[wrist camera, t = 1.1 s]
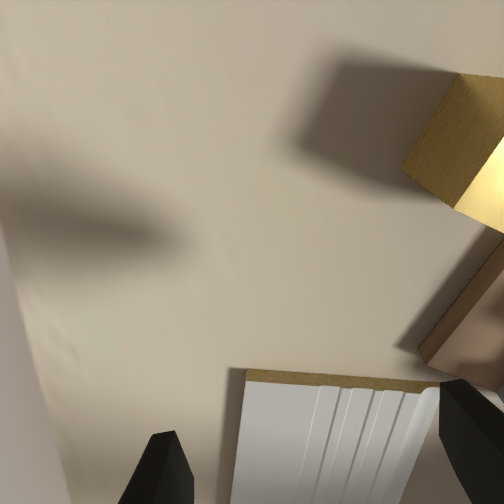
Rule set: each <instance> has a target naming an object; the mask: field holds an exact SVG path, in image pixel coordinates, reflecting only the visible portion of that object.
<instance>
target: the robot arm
mask: <svg viewBox="0 0 504 504" xmlns="http://www.w3.org/2000/svg"><path fill="white" fill-rule="evenodd" d="M439 436H440V439H441V441H442V444H443V446H444V448H445V451H446V453H447V455H448V458H449V460H450V462H451V464H452V467H453V469H454V471H455V473H456V475H457V477H458V479H459V481H460V483H461V484H462V486H463V488H464V490H465V492H466V493H467V495H468V497H469V499H470V501H471V502H472V504H504V413H503V412H502V411H501V410H500V409H499V408H497V407H496V406H495V405H494V404H493V403H492V402H490V401H489V400H488V399H487V398H486V397H485V396H483V395H482V394H481V393H480V392H479V391H478V390H476V389H475V388H474V387H473V386H472V385H471V384H470V383H468V382H467V381H466V380H464V379H458V380H452V381H447V382H441V383H440V401H439ZM118 504H194V477H193V474H192V472H191V469H190V467H189V464H188V462H187V459H186V457H185V454H184V452H183V449H182V447H181V444H180V442H179V439H178V437H177V434H176V432H175V430H174V431H168V432H163V433H157V434H153V435H152V436H151V438H150V440H149V442H148V444H147V446H146V448H145V450H144V453H143V455H142V457H141V459H140V461H139V463H138V465H137V467H136V469H135V471H134V473H133V475H132V477H131V479H130V481H129V483H128V485H127V487H126V489H125V491H124V493H123V495H122V497H121V499H120V500H119V502H118Z"/></svg>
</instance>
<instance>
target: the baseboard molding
mask: <svg viewBox="0 0 504 504" xmlns="http://www.w3.org/2000/svg"><path fill="white" fill-rule="evenodd" d="M439 401H440V383H436V382H422V381H408V380H395V379H381V378H367V377H354V376H340V375H327V374H313V373H299V372H286V371H272V370H258V369H248V371H247V373H246V379H245V387H244V395H243V403H242V411H241V419H240V426H239V434H238V442H237V450H236V458H235V466H234V474H233V481H232V489H231V497H230V504H399V503H400V500H401V498H402V495H403V492H404V490H405V487H406V485H407V482H408V480H409V477H410V475H411V472H412V470H413V467H414V465H415V462H416V460H417V457H418V454H419V452H420V449H421V447H422V444H423V442H424V439H425V437H426V434H427V432H428V429H429V427H430V424H431V421H432V419H433V416H434V414H435V411H436V409H437V406H438V404H439Z"/></svg>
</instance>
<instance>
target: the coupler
mask: <svg viewBox="0 0 504 504" xmlns="http://www.w3.org/2000/svg"><path fill="white" fill-rule="evenodd" d="M401 169H402V170H403V171H404V172H406V173H407V174H408V175H410V176H411V177H412V178H414V179H415V180H416V181H417V182H419V183H420V184H421V185H423V186H424V187H425V188H427V189H428V190H429V191H431V192H432V193H433V194H434V195H436V196H437V197H438V198H440V199H441V200H442V201H444V202H445V203H446V204H448V205H449V206H450V207H451V208H453V209H455V210H457V211H459V212H461V213H463V214H465V215H467V216H469V217H471V218H473V219H475V220H477V221H479V222H481V223H483V224H486V225H488V226H490V227H492V228H494V229H496V230H498V231H500V232H502V233H504V78H500V77H490V76H481V75H472V74H462V73H459V74H458V76H457V77H456V79H455V81H454V82H453V84H452V86H451V87H450V89H449V90H448V92H447V94H446V95H445V97H444V98H443V100H442V102H441V103H440V105H439V106H438V108H437V110H436V111H435V113H434V115H433V116H432V118H431V119H430V121H429V123H428V124H427V126H426V127H425V129H424V131H423V132H422V134H421V135H420V137H419V139H418V140H417V142H416V144H415V145H414V147H413V148H412V150H411V152H410V153H409V155H408V156H407V158H406V160H405V161H404V163H403V164H402V166H401Z"/></svg>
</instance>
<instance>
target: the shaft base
mask: <svg viewBox="0 0 504 504" xmlns="http://www.w3.org/2000/svg"><path fill="white" fill-rule="evenodd" d="M417 350H418V351H419V353H420V355H421V357H422V358H423V360H424V362H425V364H426V365H427V366H430V367H432V368H435V369H437V370H440V371H443V372H445V373H448V374H450V375H453V376H455V377H458V378H460V379H464V380H466V381H468V382H471V383H473V384H476V385H478V386H481V387H483V388H486V389H489V390H491V391H494V392H496V394H497V395H498V396H499V398H500V399H501V400H502V402H503V403H504V239H503V241H502V242H501V243H500V244H499V246H498V247H497V248H496V250H495V251H494V252H493V253H492V255H491V256H490V257H489V258H488V260H487V261H486V262H485V264H484V265H483V266H482V267H481V269H480V270H479V271H478V273H477V274H476V275H475V276H474V278H473V279H472V280H471V281H470V283H469V284H468V285H467V287H466V288H465V289H464V290H463V292H462V293H461V294H460V296H459V297H458V298H457V299H456V301H455V302H454V303H453V304H452V306H451V307H450V308H449V310H448V311H447V312H446V313H445V315H444V316H443V317H442V319H441V320H440V321H439V322H438V324H437V325H436V326H435V327H434V329H433V330H432V331H431V333H430V334H429V335H428V336H427V338H426V339H425V340H424V341H423V343H422V344H421V345H420V347H419V348H418V349H417Z"/></svg>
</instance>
